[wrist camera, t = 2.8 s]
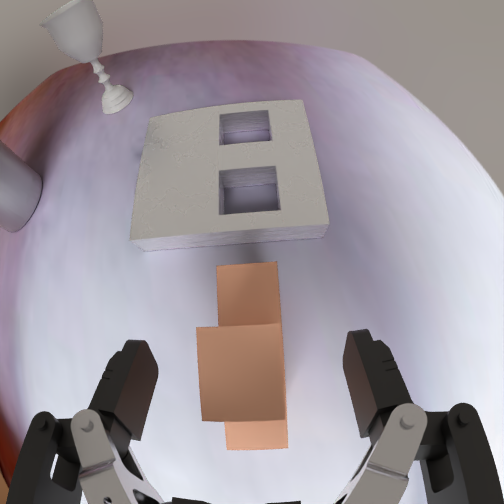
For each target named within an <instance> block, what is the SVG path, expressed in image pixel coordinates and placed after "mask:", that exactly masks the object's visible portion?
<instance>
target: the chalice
mask: <svg viewBox="0 0 504 504" xmlns="http://www.w3.org/2000/svg"><path fill="white" fill-rule="evenodd" d="M40 26H42V27H44V28H46V29H47V30H48V32H49V33H50V35H51V37H52V38H53V40H54V42H55V44H56V45H57V47H58V48H59V50H61V51H62V52H64V53H65V54H66V55H68V56H69V57H71V58H74V59H76V60H78V61H79V62H81V63H87V62H90V63H91V64H92V65H93V68H94V72H93V73H96V74H97V75H98V76H99V83H102V84H103V85H104V86H105V89H106V90H105V92H104V93H103V95H102V100H101V101H102V106H103V113H105V114H113V113H116V112H118V111H120V110H121V109H123V108H124V107H126V106H127V105H128V104H129V103H130V101H131V100H132V98H133V93H132V91H129V90H128V89H127V88H125V87H124V86H122V85H112V84H111V83H110V80H109V78H110V75H107V74H106V73H105V72H104V66H103V65H101V64H100V63H99V62H98V58H97V57H98V56H99V55H100V53H101V52H102V40H103V22H102V20H101V17H100V15H99V13H98V11H97V9H96V6H95V4H94V2H93V0H72V1H71V2H69V3H67V4H66V5H64V6H62V7H61V8H59V9H58V10H56V11H55V12H54V13H52V14H51V15H49V16H48V17H47V18H46V19H45V20H43V21H42V22H41V23H40Z"/></svg>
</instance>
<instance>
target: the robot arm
mask: <svg viewBox="0 0 504 504" xmlns="http://www.w3.org/2000/svg"><path fill="white" fill-rule="evenodd" d="M41 190H42V179H41V177H40V176H39V175H38V174H37V173H36V172H35V171H34V170H33V169H32V168H30V167H29V166H28V165H27V164H26V163H25V162H24V161H23V160H22V159H21V158H19V157H18V156H17V155H16V154H15V153H14V152H13V151H12V150H11V149H10V148H8V147H7V146H6V145H5V144H4V143H3V142H2V141H1V140H0V227H1V228H3V229H5V230H7V231H8V232H16V231H17V230H19V229H20V228H22V227H23V226H24V225H25V223H26V222H27V221H28V220H29V218H30V217H31V215H32V214H33V212H34V210H35V208H36V206H37V203H38V201H39V198H40V194H41ZM343 369H344V373H345V377H346V381H347V385H348V388H349V392H350V396H351V400H352V404H353V408H354V412H355V416H356V420H357V424H358V428H359V432H360V437H361V438H364V437H370V441H371V445H370V446H369V448H368V450H367V452H366V454H365V456H364V457H363V459H362V461H361V463H360V464H359V466H358V468H357V469H356V471H355V473H354V474H353V476H352V478H351V479H350V481H349V482H348V484H347V485H346V487H345V488H344V489H343V491H342V492H341V493H340V495H339V496H338V497H337V499H336V500H335V502H334V503H333V504H398V503H399V501H400V499H401V497H402V495H403V493H404V491H405V489H406V487H407V485H408V481H409V478H408V472H409V470H410V467H411V465H412V463H413V461H414V460H420V465H421V470H422V475H423V480H424V485H425V491H426V496H427V503H428V504H504V499H503V494H502V490H501V485H500V481H499V477H498V473H497V469H496V465H495V462H494V458H493V455H492V452H491V449H490V446H489V443H488V440H487V437H486V434H485V431H484V428H483V426H482V423H481V420H480V418H479V415H478V413H477V411H476V409H475V408H474V407H473V406H472V405H470V404H467V403H459V404H456V405H455V406H453V407H452V408H451V409H450V411H448V412H428V411H424V410H423V409H422V408H421V407H420V406H418V405H415V404H414V403H413V401H412V400H411V397H410V395H409V392H408V390H407V388H406V385H405V383H404V380H403V378H402V376H401V373H400V371H399V369H398V366H397V364H396V362H395V361H394V357H393V355H392V353H391V351H390V348H389V347H388V346H386V345H385V344H384V343H383V342H382V341H381V340H377V341H373V339H372V337H371V334H370V332H369V330H368V329H363V330H356V331H349V332H348V335H347V340H346V345H345V349H344V354H343ZM157 379H158V365H157V363H156V360H155V358H154V356H153V354H152V352H151V350H150V348H149V346H148V344H147V342H146V341H145V340H127V341H126V343H125V345H124V347H123V349H122V351H117V352H116V353H115V354H114V355H113V357H112V358H111V359H110V360H109V362H108V364H107V366H106V369H105V371H104V373H103V375H102V379H101V380H100V382H99V384H98V386H97V389H96V391H95V393H94V396H93V398H92V400H91V403H90V405H89V407H88V409H85V410H81V411H79V412H78V413H77V414H75V416H74V417H73V418H69V419H56V418H55V417H54V416H53V415H52V414H51V413H49V412H46V411H43V412H40V413H38V414H36V415H35V416H34V418H33V419H32V421H31V424H30V427H29V429H28V432H27V434H26V437H25V440H24V443H23V445H22V448H21V451H20V454H19V457H18V460H17V464H16V467H15V470H14V474H13V477H12V481H11V485H10V489H9V493H8V497H7V502H6V504H80V501H81V496H82V490H83V492H84V495H85V497H86V500H87V502H88V504H210V503H207V502H204V501H198V500H189V499H182V498H176V497H172V502H165V503H164V501H163V499H162V498H161V496H160V495H159V494H158V492H157V491H156V490H155V489H154V488H153V487H152V486H151V484H150V483H149V482H148V480H147V478H146V477H145V475H144V473H143V471H142V469H141V467H140V465H139V463H138V461H137V459H136V457H135V455H134V453H133V451H132V449H131V447H130V446H129V444H130V440H131V439H132V440H138V441H140V440H141V436H142V432H143V428H144V425H145V421H146V417H147V414H148V410H149V406H150V403H151V399H152V396H153V392H154V389H155V385H156V382H157ZM55 454H58V459H57V462H56V466H55V470H54V473H53V477H52V480H51V478H50V472H51V468H52V464H53V461H54V457H55ZM267 504H301V501H294V502H281V503H267Z"/></svg>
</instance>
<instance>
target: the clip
mask: <svg viewBox="0 0 504 504" xmlns="http://www.w3.org/2000/svg"><path fill="white" fill-rule="evenodd" d="M217 299H218V325H219V327H196V333H197V355H198V373H199V388H200V401H201V413H202V421H215V422H224V423H225V435H226V446H227V450H266V449H283V448H288V430H287V407H286V387H285V369H284V352H283V336H282V322H281V307H280V294H279V281H278V269H277V261H276V262H263V263H249V264H235V265H221V266H217Z"/></svg>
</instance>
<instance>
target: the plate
mask: <svg viewBox="0 0 504 504" xmlns="http://www.w3.org/2000/svg"><path fill="white" fill-rule="evenodd" d="M256 130H269V134H270V141H262V142H249V143H238V144H229V145H224V134H225V133H234V132H244V131H256ZM269 184H276V192H277V201H278V210H277V211H263V212H250V213H238V214H227V215H225V213H224V188H233V187H244V186H255V185H269ZM329 224H330V223H329V217H328V212H327V206H326V201H325V195H324V190H323V185H322V180H321V175H320V171H319V166H318V161H317V157H316V152H315V148H314V144H313V140H312V135H311V131H310V127H309V123H308V120H307V116H306V112H305V108H304V104H303V101H302V100H278V101H261V102H248V103H238V104H228V105H220V106H212V107H205V108H199V109H193V110H187V111H181V112H176V113H171V114H166V115H161V116H156V117H152V118H150V120H149V124H148V129H147V133H146V137H145V142H144V147H143V152H142V157H141V162H140V167H139V173H138V179H137V185H136V191H135V198H134V205H133V213H132V221H131V230H130V241H131V242H132V243H133V244H135V245H136V246H137V247H139V248H140V249H142V250H143V251H156V250H168V249H180V248H192V247H205V246H217V245H230V244H243V243H256V242H270V241H283V240H297V239H311V238H323V237H324V235H325V233H326V230H327V228H328V226H329Z"/></svg>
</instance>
